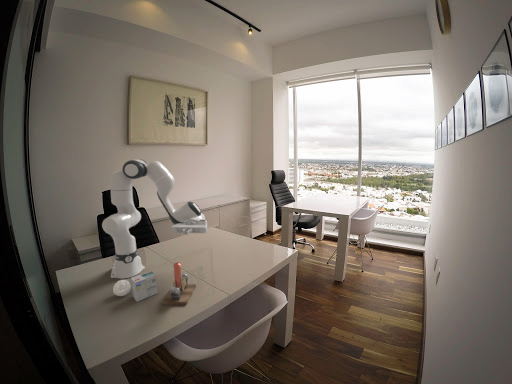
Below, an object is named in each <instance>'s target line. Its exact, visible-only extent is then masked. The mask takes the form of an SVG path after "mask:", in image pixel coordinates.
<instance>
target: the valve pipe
mask: <svg viewBox="0 0 512 384" xmlns="http://www.w3.org/2000/svg"><path fill="white" fill-rule="evenodd" d="M181 275H182V286H181V287H180V288H177V287H175V279H173V281H172V287H171V288H170V289H169V292H168V293H170V295H171V299H172V300H180V298H181V291H183V290H184V288H187V286H188V284H189V282H188V280H189V275H188V273H186V272H181Z"/></svg>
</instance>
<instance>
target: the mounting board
mask: <svg viewBox="0 0 512 384" xmlns="http://www.w3.org/2000/svg"><path fill="white" fill-rule="evenodd" d="M196 288H197V284H196V283H188V286H187V288H184V290H183V291H181V298H180V300H172V299H171V295H170V293H169V292H168V293H167V294H166V295H165V297H164V299H163V300H162V301H161V305H162V306H187V305H188V304H189V301H190V299H191V297H192V295H193V294H194V291H195V290H196Z"/></svg>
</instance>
